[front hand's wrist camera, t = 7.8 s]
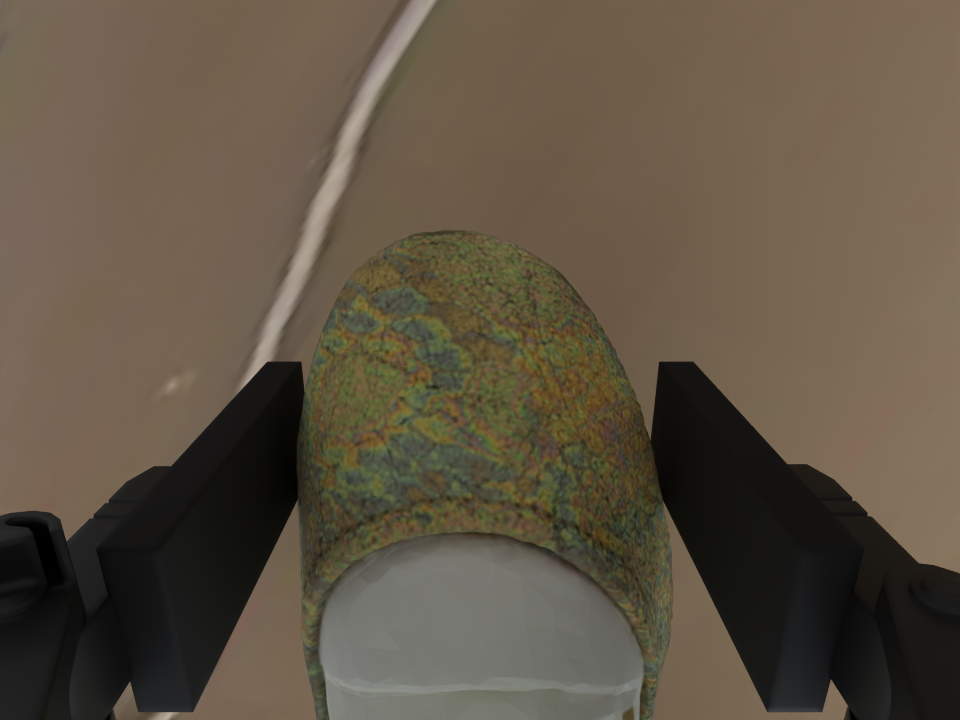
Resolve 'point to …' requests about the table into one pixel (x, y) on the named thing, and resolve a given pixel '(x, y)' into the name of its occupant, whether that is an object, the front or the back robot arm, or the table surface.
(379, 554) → the ballet flat
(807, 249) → the table surface
